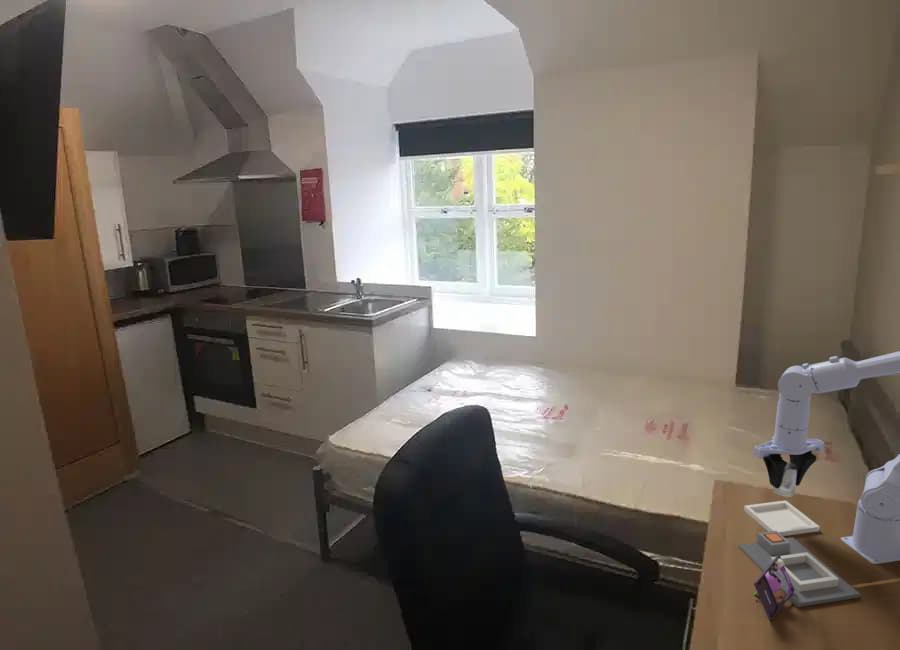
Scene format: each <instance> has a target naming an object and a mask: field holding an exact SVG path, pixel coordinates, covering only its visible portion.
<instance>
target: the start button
mask: <svg viewBox="0 0 900 650" xmlns="http://www.w3.org/2000/svg"><path fill="white" fill-rule="evenodd" d="M765 537H766V538H767V539H768V540H769V541H771V542H772V543H777V542H783V540H782V539H781V538H780V537H779V536H778V535H777V534H776V533H774V534H767V535H765Z"/></svg>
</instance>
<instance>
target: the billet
mask: <svg viewBox="0 0 900 650" xmlns="http://www.w3.org/2000/svg"><path fill="white" fill-rule="evenodd" d="M786 462H787V463H788V464H787V465H786V467H785V469H784V471H783V474H782V479H781V485H780V487H779V488H775V487H774V486H772V491H773V492H774V494H776V495H779V496H780V497H785V498H791V497H793V496H795V494H796V487H797V486H796V479H797V471H798V467H797V466H796V465H795V464H793V463H790V461H786Z"/></svg>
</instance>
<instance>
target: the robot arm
mask: <svg viewBox="0 0 900 650" xmlns="http://www.w3.org/2000/svg"><path fill="white" fill-rule="evenodd" d="M896 374H897V375H898V374H900V350H899V351H895V352H891V353H886V354H883V355H879V356H874V357H870V358H868V359H863V360H858V361H855V360H852V359H850V358H848V357H841V358H839V356H838V355H835V356H830V357H829V359H828V360H827V361H822V362H817V363H812V364H809V363H808V362H807V363H803V364H802V365H792V366H790V367H788V368H787V369H786V370H785V371H784V372H783V373H782V375H781V376H780V378H779V380H778V383H777V389H778V392H779V394H778V398H779V399H778V400H777V407H776V416H775V423H774V424H775V425H774V426H775V427H774V434H773V436H772V438H771V440H769V441H766V442H764V443H762V444H759V445H758V444H757V445H754V446H753V452H752V454H753V456H754V457H756V458H758V460H759V459H760V460H761V459H762V460H763V462H764V465H765V467H766V469H767V470H766V471H767V475H768V480H769V484H770V485H771V486H772V487H773V486H774V487H775V488H779V487H780V485H781V479H782V474H783V471H784V469H785V467H786V465H787V464H788V463H787V462H788V461H786V460H784V459H783V457H782V455H789V462H790V463H793V464H795V465H796V466H797V467H798V471H797V479H796V487H798V486H800V485H801V482H802V480H803V479H804V476H805V475H806V473H807V471H808V469H809V468H810V467H811V466H812V465H813V464H814V463H816V461H817V455H815V454H813V452H814V451H817V452H819V453H820V452H824V451H825V444H826V443H825V442H824V441H822V440H820V439H819V438H808V431H809V423H810V413H811V398H812V397H811V396H812V394H823V393H830V392H834V391H840V390H847V389H850V388H851V389H852V388H856V387H857V386H858V385H859V383H860V382H861V380H863V379H870V378H877V377H883V376H884V377H885V376H889V375H891V376H893V375H896ZM840 541H842V542H843V543H845V545H846V546H849V547H850V548H851V549H852V550H853V551H854V552H856V553H858V554H859V555H860V556H862V558H864V559H865V560H867V561H868V562H869V563H871V564H873V565H878V564H884V563H891V562H897V561H900V453H899V454H898V455H897V456H896V457H895V458H894V459H892V460H887V462H886V463H885V464H884V465H883V466H881V467H878V468H875V469H871V470H870V471H869V472H867V474H866V475H865V479H864V488H863V491H862V494H861V497H860V499H859V500H858V502H857V507H856V514H855V520H854V526H853V532H852V535H851V536H841V537H840Z"/></svg>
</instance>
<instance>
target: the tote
mask: <svg viewBox="0 0 900 650" xmlns="http://www.w3.org/2000/svg"><path fill="white" fill-rule="evenodd" d="M743 511H744V512H745V513H747V514H748V515H749V516H750V517H751V518H752V519H753V520H754V521H755V522H757V523H758V525H760V526H761V527H762V528H763V529H765V530H766V532H769V531H777V532H779V533H780V534H781V535H782V536H783V537H786V536H793V535H794V536H795V535H800V534H807V533H815V532H819V531H820V528H821V526H820V525H819V524H817V523H816V522H814V521H813V520H812V519H811V518H809V517H808V516H807V515H805V514H804V513H803V512H802V511H800V510H799V509H798V508H796V507H795V506H793V505H792V504H791V503H790V502H789V501H787V500H778V501H769V502H763V503H755V504H747V505H744V507H743Z"/></svg>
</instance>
